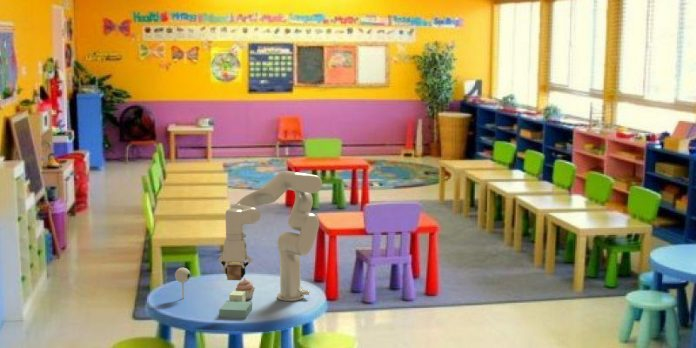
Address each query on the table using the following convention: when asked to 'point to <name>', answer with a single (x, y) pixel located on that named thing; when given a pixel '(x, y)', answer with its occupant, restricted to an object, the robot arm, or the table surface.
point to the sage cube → (237, 296)
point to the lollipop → (182, 277)
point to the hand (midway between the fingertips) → (235, 275)
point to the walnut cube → (234, 271)
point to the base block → (235, 309)
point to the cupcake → (246, 288)
